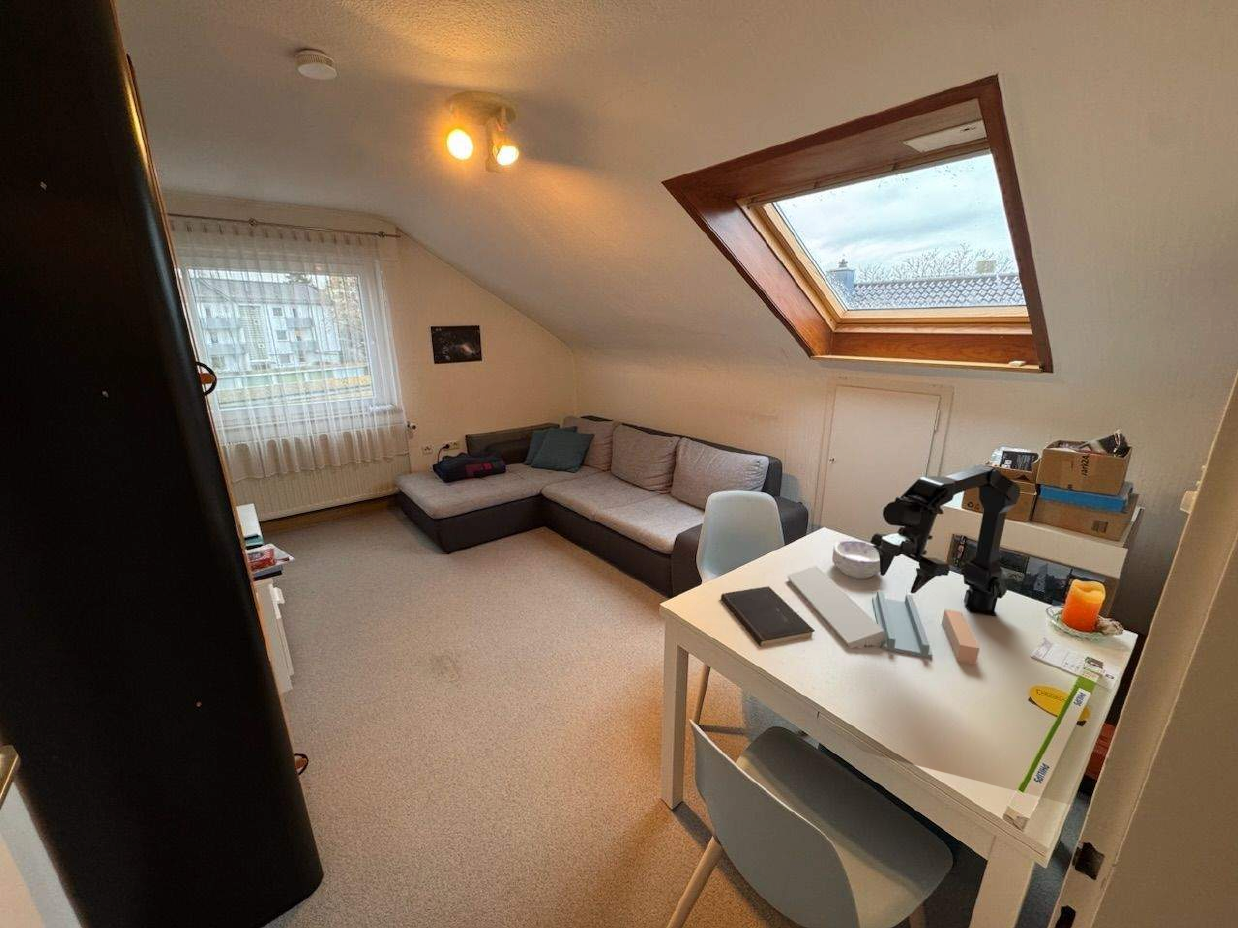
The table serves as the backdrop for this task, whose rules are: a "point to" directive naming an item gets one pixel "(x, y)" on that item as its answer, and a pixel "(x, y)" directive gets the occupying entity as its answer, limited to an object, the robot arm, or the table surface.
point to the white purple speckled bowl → (856, 558)
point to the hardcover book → (766, 615)
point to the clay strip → (960, 637)
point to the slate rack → (901, 626)
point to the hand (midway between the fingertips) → (896, 583)
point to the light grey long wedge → (837, 608)
